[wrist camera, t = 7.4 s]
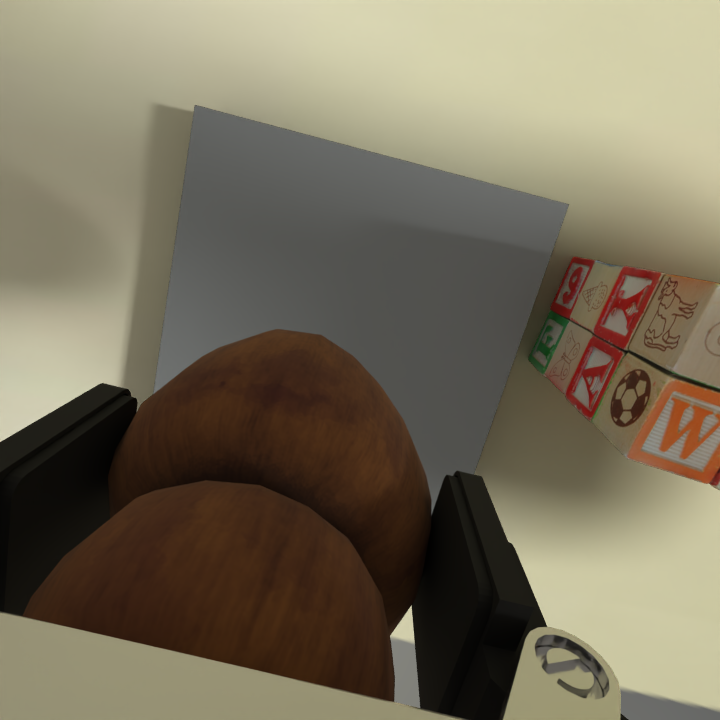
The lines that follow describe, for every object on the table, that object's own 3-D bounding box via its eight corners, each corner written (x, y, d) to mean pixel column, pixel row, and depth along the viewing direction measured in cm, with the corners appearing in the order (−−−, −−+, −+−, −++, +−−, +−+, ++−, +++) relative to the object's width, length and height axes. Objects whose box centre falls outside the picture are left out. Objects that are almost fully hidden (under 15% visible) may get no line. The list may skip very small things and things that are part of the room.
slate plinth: (551, 205, 26) (569, 204, 23) (449, 501, 31) (455, 525, 28) (212, 115, 25) (194, 104, 23) (163, 431, 30) (145, 449, 28)
